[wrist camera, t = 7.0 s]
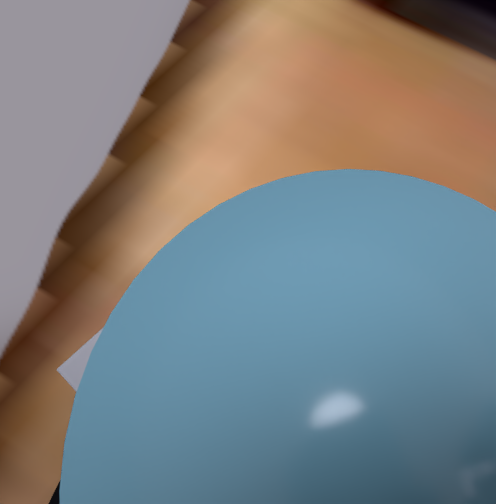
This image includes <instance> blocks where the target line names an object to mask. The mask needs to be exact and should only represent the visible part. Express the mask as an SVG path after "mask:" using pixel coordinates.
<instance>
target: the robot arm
mask: <svg viewBox="0 0 496 504" xmlns="http://www.w3.org/2000/svg"><path fill="white" fill-rule="evenodd" d="M60 481H61V480H60ZM59 490H60V482H59V484H58V486H57V488H56V490H55V492H54V494H53V496H52V498H51V500H50V502H49V504H60V494H59Z"/></svg>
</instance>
